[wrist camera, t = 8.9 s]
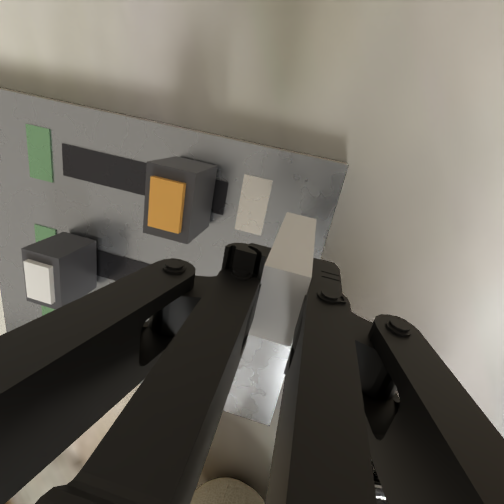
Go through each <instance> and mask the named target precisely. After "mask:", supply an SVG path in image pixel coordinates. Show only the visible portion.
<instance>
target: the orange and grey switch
mask: <svg viewBox="0 0 504 504" xmlns="http://www.w3.org/2000/svg"><path fill="white" fill-rule="evenodd" d="M217 167H218V166H217V165H213V164H208V163H204V162H200V161H195V160H191V159H187V158H182V157H178V156H174V157H169V158H163V159H158V160H152V161H147V165H146V183H145V201H144V219H143V233H146V234H150V235H154V236H157V237H161V238H165V239H169V240H173V241H176V242H180V243H184V244H189V243H190V242H191V241H192V240H193V239H195V238H196V237H197V236H198V235H199V234H200V233H202V232H203V231H204V230H205V229H206V228H208V227H209V223H210V216H211V209H212V202H213V195H214V188H215V181H216V174H217Z"/></svg>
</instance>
